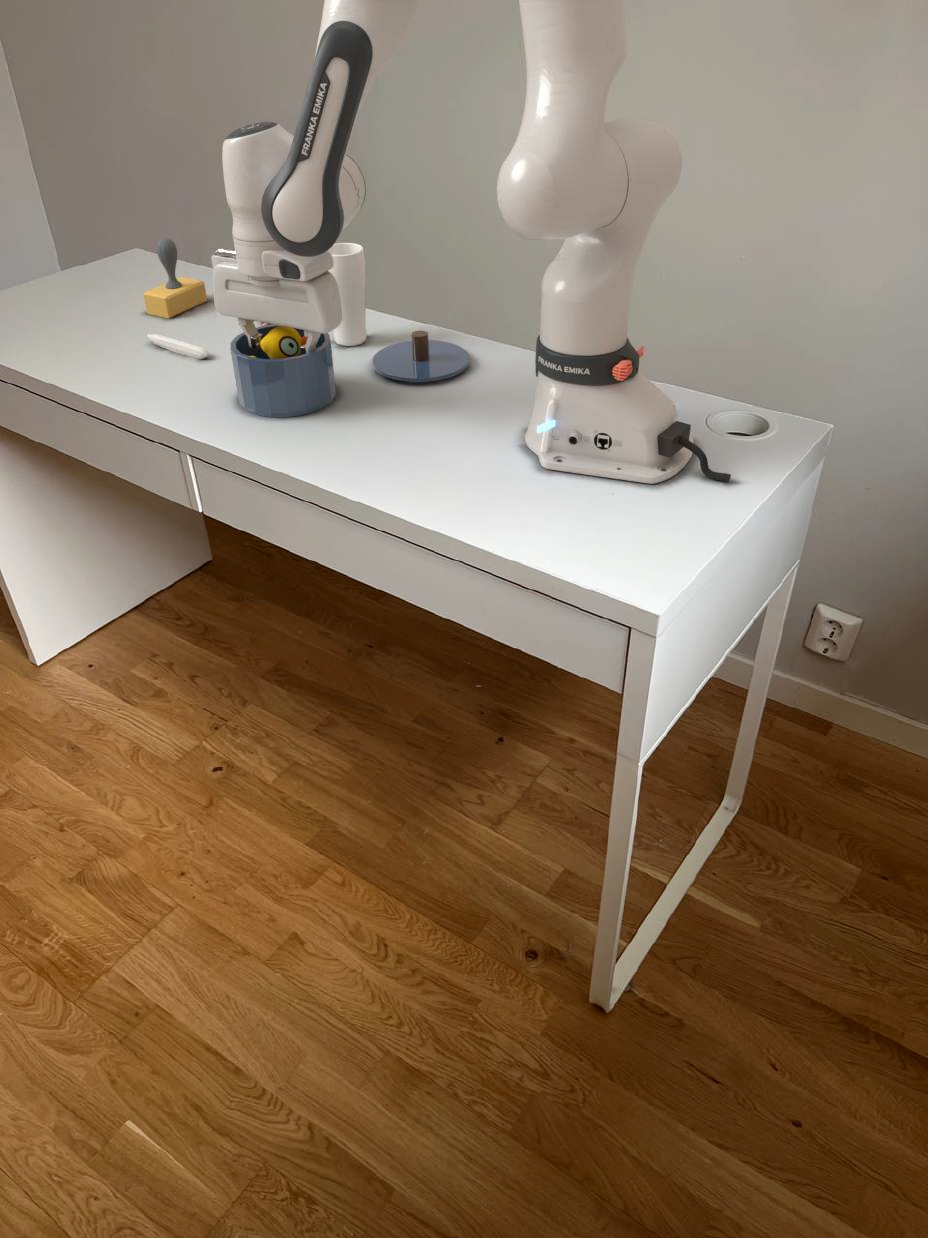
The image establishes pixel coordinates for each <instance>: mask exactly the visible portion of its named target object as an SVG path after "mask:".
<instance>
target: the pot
mask: <svg viewBox="0 0 928 1238" xmlns="http://www.w3.org/2000/svg"><path fill="white" fill-rule="evenodd" d="M278 326H280V325H275V324H269V325H266V326H261V327H258V326H257V327H256V329H257V331H258V333H259V334H263V338H264V337H265V336H266V335H267V334H268V333H269V332H270V331H271V330H272V329H274V328H276V327H278ZM293 329H295V330H296V331H297V332H298V333H299V335H300V337H304V330H302V329H297V328H293ZM229 349H230V354H231V361H232V367H233V368H232V369H233V373H234V379H235V386H236V391H237V392H236V393H237V397H238V398H237V399H238V402H239V405H240V407H242V408H243V409H244V410H245V411H246V412H248V413H251V414H253V415H256V416H261V417H267V418H291V417H298V416H303V415H308V414H312V413H314V412H317V411H320V410H321V409H323V408H325V407H327V406H328V405H329V404H331V403H332V401H333V400H334V399H335V397H336V392H337V391H336V381H335V369H334V362H333V352H332V351H333V350H332V340H331V336H330V333H326V334H324V333H321V335H320V337H319V340H318V342H317V344H316V350H314V351H312V352H310V353H307V354H303V355H301V354H302V353H301V352H300V355H299V356H297V357H290V358H284V359H270V357H269V356H268V355H267V354H266V353H265V352H264V351H263V350H262V348H260V349H255V348H250V347H249V343H248V337H247V336H246V335H245V333H244V331H242V332H241V333H239V334H238V335H236V336H235V337H234V338H233V339H232V340H231V341H230V348H229ZM250 356H255V357H256V358H255V357H250Z"/></svg>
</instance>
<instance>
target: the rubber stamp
mask: <svg viewBox="0 0 928 1238" xmlns="http://www.w3.org/2000/svg"><path fill="white" fill-rule="evenodd" d="M156 254H157V256H158V259H159V261H160V263H161V265H162V267H163V268H164V270H165V272H166V274H167V278H168V281H167V282H164V283H162V284H161V285H158V286H155V287H154V288H151V289H149V290H147V291H144V292H143V299H144V304H145V309H146V313H147V315H150V316H154V317H159V318H165V319H168V320H169V319H171V318H173V317H176V316H178V315H180V314H182V313H185V312H186V311H189V310H191V309H193V308H195V307H197V306H200V305H202V304H204V303H206V302H208V297H207V296H208V295H207V291H206V285H205V281H203V280H199V279H194V278H189V277H184V276H179V277H176V268H177V263H178V248H177V245H176V243H175V242H174V241H173V240H171V239H170V238H167V237H165V238H161V239H159V241H158V242H157V243H156Z"/></svg>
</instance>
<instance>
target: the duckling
mask: <svg viewBox="0 0 928 1238" xmlns="http://www.w3.org/2000/svg"><path fill="white" fill-rule="evenodd" d="M307 339H308V337H305V336H304V337H300V335H299V333H298V332H297V331H296V330H295V329H293V328H291V327H286V326H278V327H276V328H274V329H272V330H271V331H270V332H269V333H268V334H267V335H266V336H265V337H264V338H263V339H262V340H261V342H260V345H261V348H262V350H263V351H264V352H265V353H266V354H267V355H268V356H269V357H270V359H284V358H290V357H297V356H299V355H300V352H301V350H300V347H301V346H303V345H305V344H306V342H307ZM250 357H255V356H250ZM255 358H256V357H255Z"/></svg>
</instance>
